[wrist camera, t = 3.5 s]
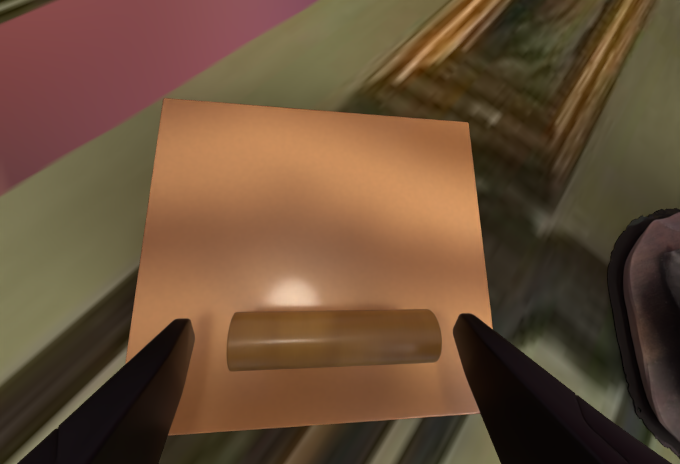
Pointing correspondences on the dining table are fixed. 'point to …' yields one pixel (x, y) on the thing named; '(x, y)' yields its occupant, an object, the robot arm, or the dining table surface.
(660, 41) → the dining table surface
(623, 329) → the angel statue
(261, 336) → the lid
